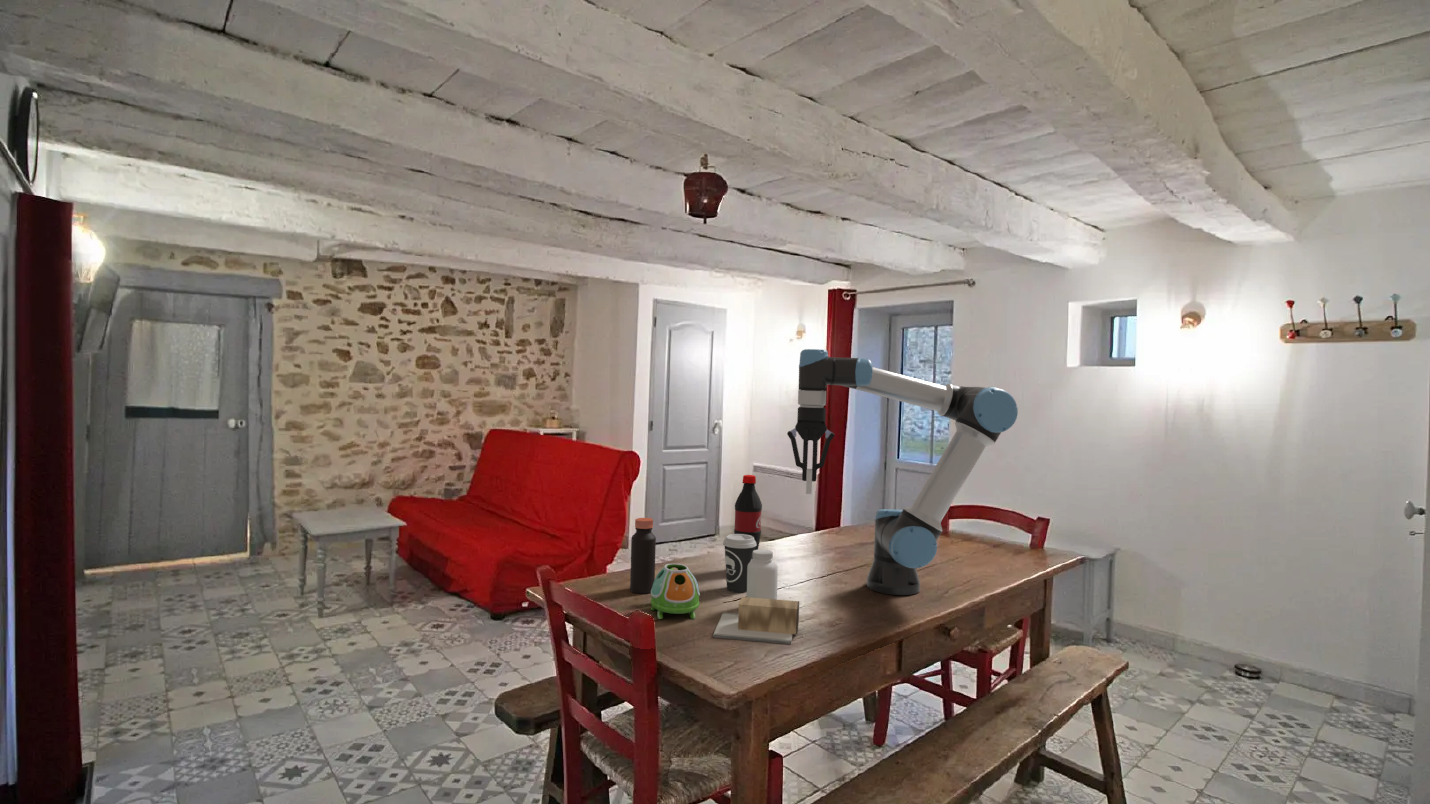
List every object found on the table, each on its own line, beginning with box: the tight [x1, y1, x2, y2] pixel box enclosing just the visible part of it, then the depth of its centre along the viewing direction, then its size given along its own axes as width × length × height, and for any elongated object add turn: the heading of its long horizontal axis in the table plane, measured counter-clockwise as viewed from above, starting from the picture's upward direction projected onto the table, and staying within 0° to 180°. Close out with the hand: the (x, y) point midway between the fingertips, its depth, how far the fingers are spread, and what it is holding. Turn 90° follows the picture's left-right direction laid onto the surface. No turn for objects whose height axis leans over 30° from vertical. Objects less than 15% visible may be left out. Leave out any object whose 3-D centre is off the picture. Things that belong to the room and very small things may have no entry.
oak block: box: [737, 596, 800, 635], centre depth 174 cm, size 6×6×14 cm
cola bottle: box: [733, 474, 763, 550], centre depth 225 cm, size 8×8×30 cm
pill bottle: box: [746, 548, 779, 600], centre depth 190 cm, size 8×8×15 cm
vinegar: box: [629, 517, 657, 595], centre depth 202 cm, size 7×7×20 cm
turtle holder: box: [650, 563, 701, 620], centre depth 186 cm, size 12×18×12 cm
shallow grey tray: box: [712, 612, 793, 645], centre depth 174 cm, size 18×16×1 cm
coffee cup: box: [722, 533, 757, 594], centre depth 206 cm, size 10×10×15 cm
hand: (808, 493), depth 197 cm, fingers closed
